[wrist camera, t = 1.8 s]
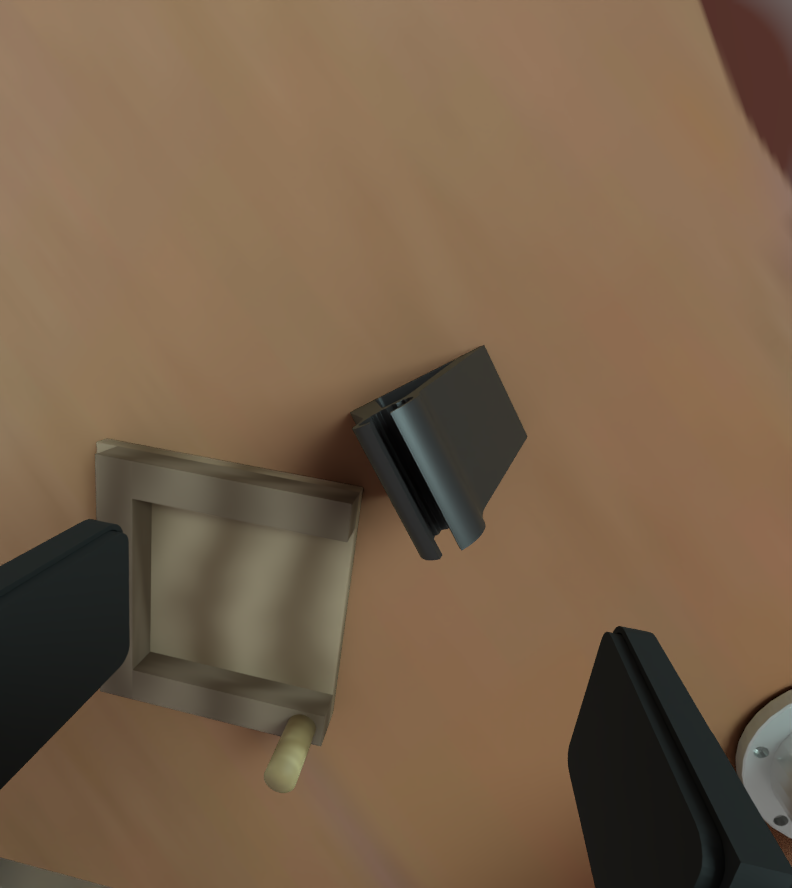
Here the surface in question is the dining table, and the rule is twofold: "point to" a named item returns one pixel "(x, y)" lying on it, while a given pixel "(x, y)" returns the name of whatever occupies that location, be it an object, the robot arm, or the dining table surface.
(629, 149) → the dining table surface
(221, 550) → the board
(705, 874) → the robot arm
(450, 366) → the phone stand
